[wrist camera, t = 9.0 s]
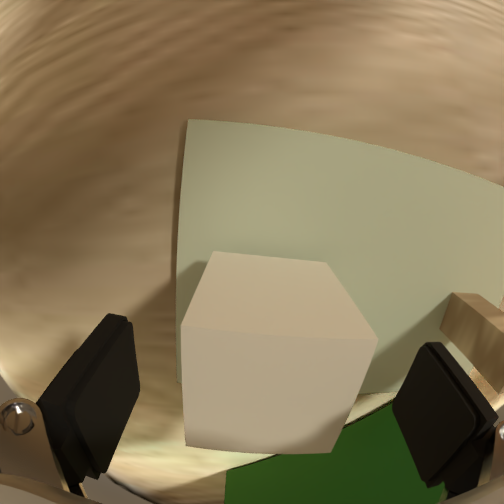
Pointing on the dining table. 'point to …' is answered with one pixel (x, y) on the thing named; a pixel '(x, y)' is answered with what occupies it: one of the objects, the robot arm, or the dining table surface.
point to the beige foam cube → (271, 356)
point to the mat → (344, 228)
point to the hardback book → (339, 471)
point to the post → (477, 334)
